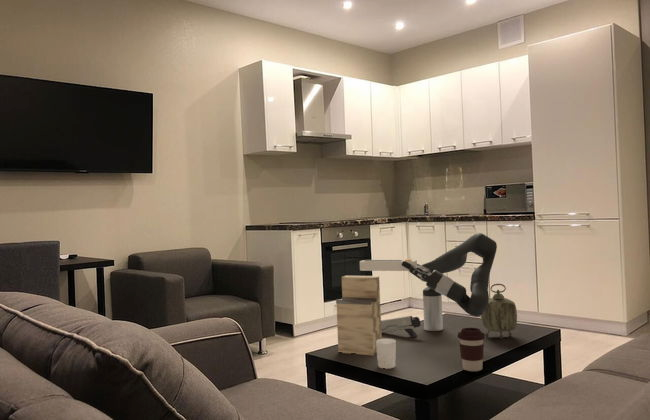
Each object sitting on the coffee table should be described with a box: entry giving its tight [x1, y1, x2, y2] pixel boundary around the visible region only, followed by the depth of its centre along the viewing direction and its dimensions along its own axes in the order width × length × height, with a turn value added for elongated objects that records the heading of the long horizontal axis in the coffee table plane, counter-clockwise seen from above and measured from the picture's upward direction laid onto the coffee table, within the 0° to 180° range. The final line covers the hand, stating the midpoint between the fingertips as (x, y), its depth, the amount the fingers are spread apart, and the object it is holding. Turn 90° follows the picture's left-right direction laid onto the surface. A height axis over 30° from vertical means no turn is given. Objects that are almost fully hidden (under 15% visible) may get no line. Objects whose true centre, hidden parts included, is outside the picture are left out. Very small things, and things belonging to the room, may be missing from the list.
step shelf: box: [335, 275, 383, 356], centre depth 233 cm, size 12×16×32 cm
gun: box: [381, 315, 422, 338], centre depth 258 cm, size 2×25×10 cm, turn 53°
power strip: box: [359, 258, 418, 272], centre depth 225 cm, size 4×24×4 cm, turn 66°
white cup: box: [376, 338, 397, 370], centre depth 209 cm, size 8×8×10 cm
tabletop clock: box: [480, 283, 518, 340], centre depth 246 cm, size 14×9×25 cm, turn 88°
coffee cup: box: [457, 327, 486, 372], centre depth 201 cm, size 10×10×15 cm
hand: (404, 262), depth 222 cm, fingers closed on power strip, 4 cm apart
